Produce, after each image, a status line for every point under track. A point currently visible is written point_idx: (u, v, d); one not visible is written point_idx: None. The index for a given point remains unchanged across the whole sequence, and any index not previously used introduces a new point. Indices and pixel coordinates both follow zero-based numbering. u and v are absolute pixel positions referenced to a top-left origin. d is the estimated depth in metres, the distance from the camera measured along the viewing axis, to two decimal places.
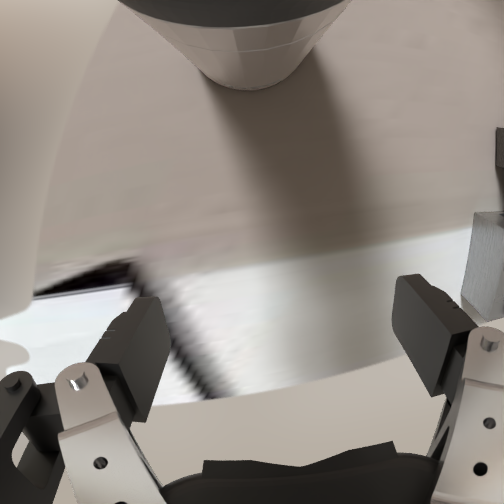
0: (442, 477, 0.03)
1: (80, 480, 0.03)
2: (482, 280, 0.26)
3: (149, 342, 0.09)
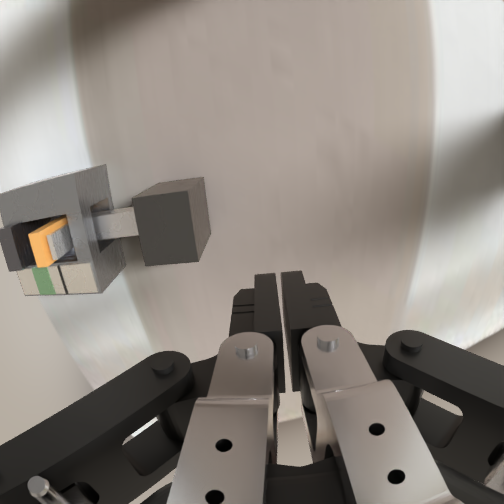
0: None
1: (192, 453, 0.04)
2: None
3: None
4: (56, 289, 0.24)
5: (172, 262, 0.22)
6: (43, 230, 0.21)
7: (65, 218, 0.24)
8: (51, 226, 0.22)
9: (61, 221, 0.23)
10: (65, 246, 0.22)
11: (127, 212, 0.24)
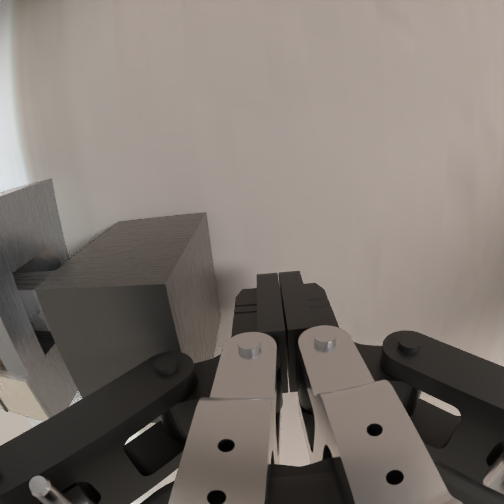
0: None
1: (194, 453, 0.04)
2: None
3: None
4: None
5: None
6: None
7: None
8: None
9: None
10: None
11: None
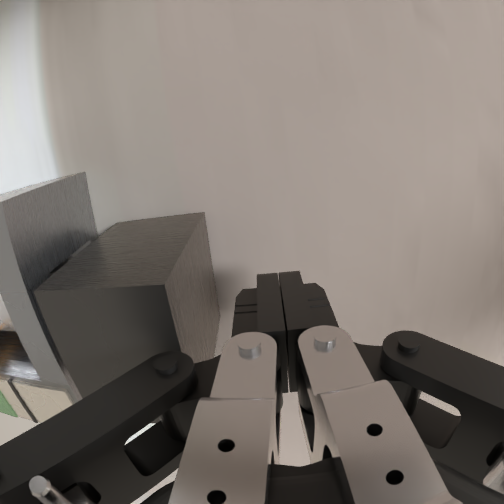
0: None
1: (195, 453, 0.04)
2: None
3: None
4: (16, 411, 0.10)
5: None
6: None
7: None
8: None
9: None
10: None
11: None
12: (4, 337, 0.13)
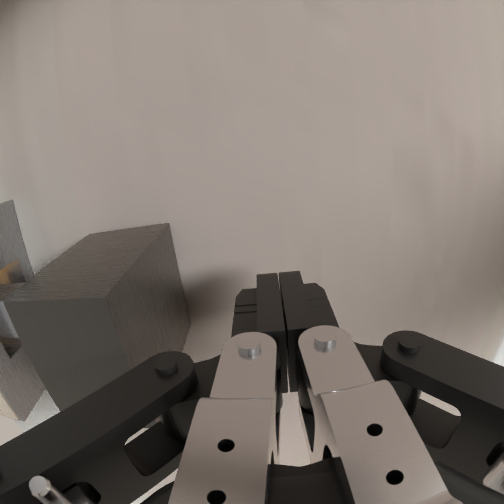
0: None
1: (195, 453, 0.04)
2: None
3: None
4: None
5: None
6: None
7: None
8: None
9: None
10: None
11: None
12: None
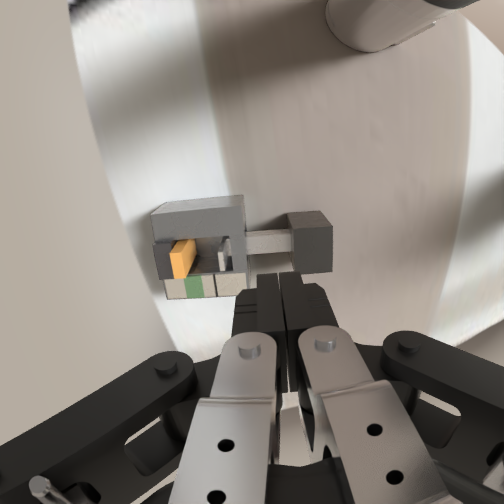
0: None
1: (195, 453, 0.04)
2: (186, 205, 0.34)
3: None
4: (206, 293, 0.35)
5: (315, 272, 0.33)
6: (182, 250, 0.32)
7: (189, 239, 0.35)
8: (185, 247, 0.33)
9: (188, 242, 0.34)
10: (225, 260, 0.33)
11: (272, 235, 0.35)
12: (193, 264, 0.37)
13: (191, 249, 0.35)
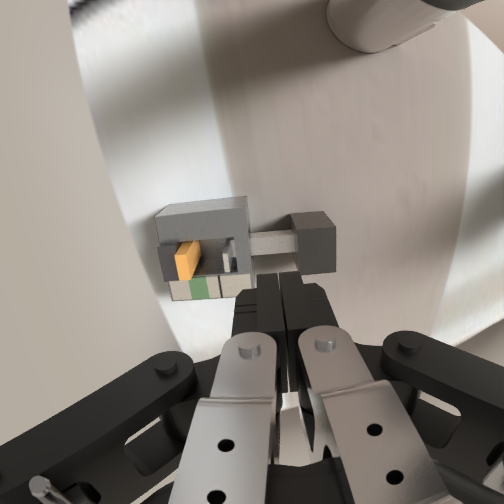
0: None
1: (195, 453, 0.04)
2: (190, 207, 0.34)
3: None
4: (211, 294, 0.35)
5: (318, 272, 0.33)
6: (187, 252, 0.32)
7: (193, 241, 0.35)
8: (189, 248, 0.33)
9: (192, 244, 0.34)
10: (230, 261, 0.33)
11: (276, 236, 0.35)
12: (198, 265, 0.37)
13: (195, 251, 0.36)
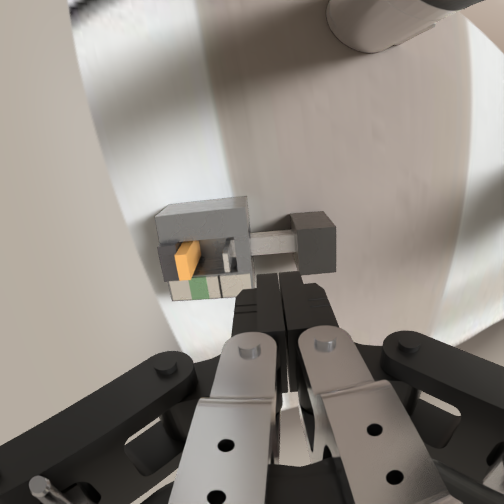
0: None
1: (195, 453, 0.04)
2: (190, 207, 0.34)
3: None
4: (211, 294, 0.35)
5: (318, 272, 0.33)
6: (187, 252, 0.32)
7: (193, 241, 0.35)
8: (189, 248, 0.33)
9: (192, 244, 0.34)
10: (230, 261, 0.33)
11: (276, 236, 0.35)
12: (198, 265, 0.37)
13: (195, 251, 0.36)
